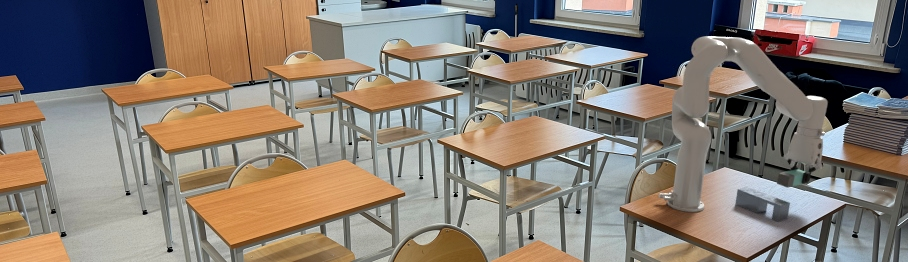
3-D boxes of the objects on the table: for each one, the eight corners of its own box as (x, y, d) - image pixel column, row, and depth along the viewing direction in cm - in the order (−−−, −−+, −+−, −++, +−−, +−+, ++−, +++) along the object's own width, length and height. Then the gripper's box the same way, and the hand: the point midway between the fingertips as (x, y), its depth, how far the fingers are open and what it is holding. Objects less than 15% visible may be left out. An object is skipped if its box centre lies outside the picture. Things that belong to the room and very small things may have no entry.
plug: (787, 187, 225) (789, 176, 224) (776, 183, 228) (779, 173, 227) (806, 183, 230) (808, 172, 229) (795, 179, 234) (797, 169, 232)
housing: (778, 221, 221) (781, 205, 219) (735, 204, 235) (737, 189, 233) (787, 219, 223) (790, 202, 222) (744, 202, 237) (746, 186, 236)
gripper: (838, 136, 221) (827, 187, 226) (793, 124, 235) (783, 171, 240) (826, 139, 217) (815, 190, 222) (780, 126, 231) (770, 174, 236)
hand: (798, 180), depth 231 cm, fingers closed on plug, 4 cm apart
